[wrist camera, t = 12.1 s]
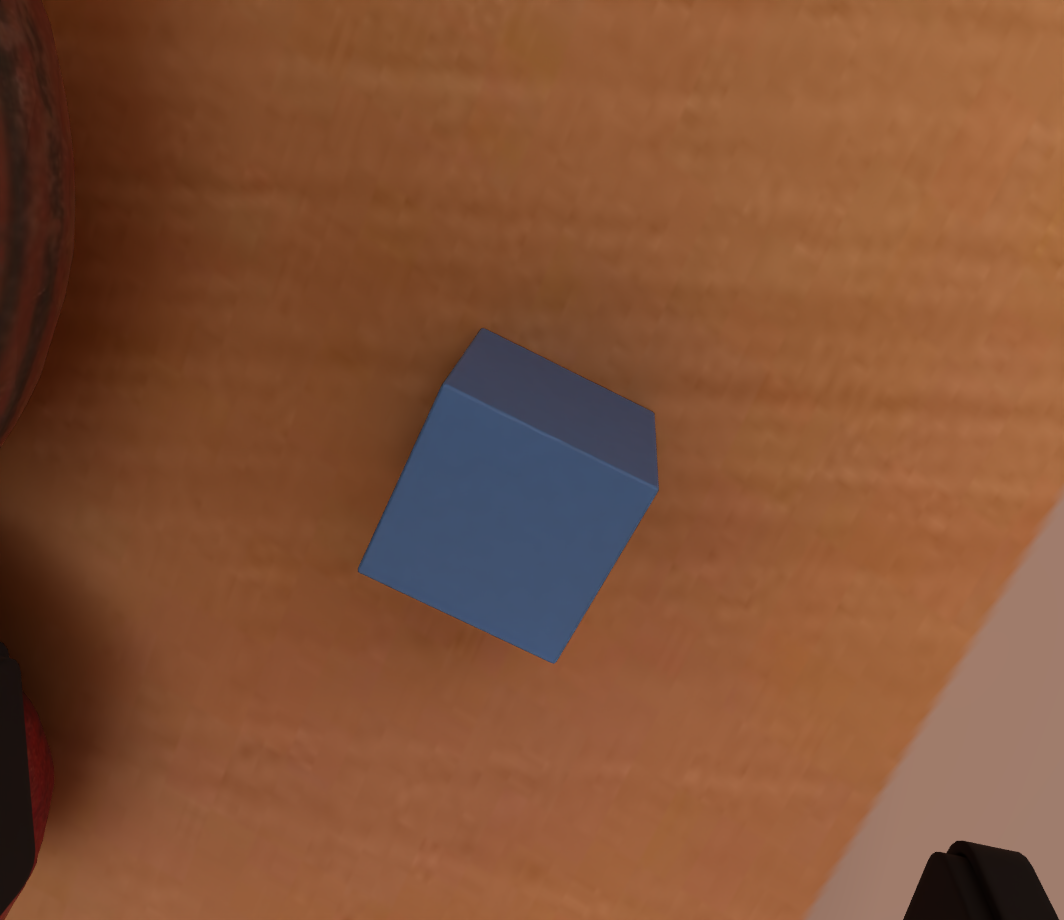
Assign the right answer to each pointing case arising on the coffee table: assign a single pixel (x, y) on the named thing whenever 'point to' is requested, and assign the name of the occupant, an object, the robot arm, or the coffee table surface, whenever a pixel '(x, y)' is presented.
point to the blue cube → (516, 496)
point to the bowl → (31, 201)
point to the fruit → (37, 777)
